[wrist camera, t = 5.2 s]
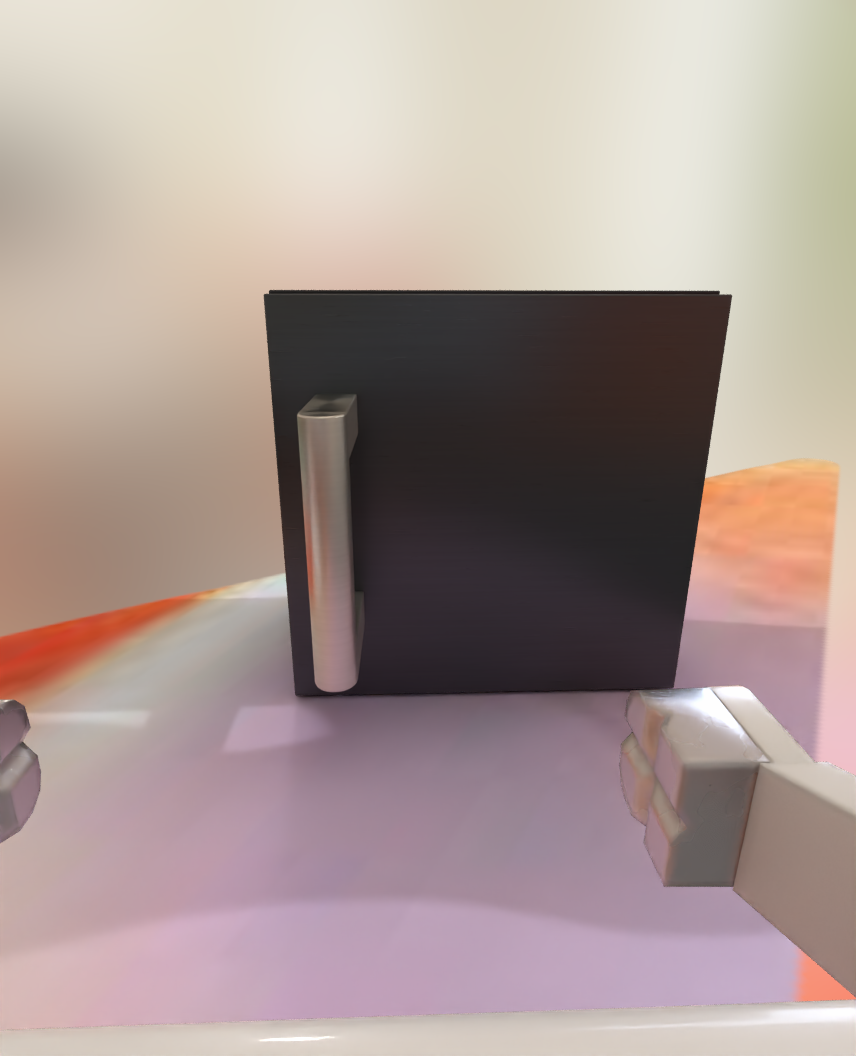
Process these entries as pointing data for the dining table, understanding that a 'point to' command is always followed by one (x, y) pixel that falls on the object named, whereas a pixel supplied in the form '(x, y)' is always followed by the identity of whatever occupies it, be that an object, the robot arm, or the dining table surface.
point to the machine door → (490, 485)
